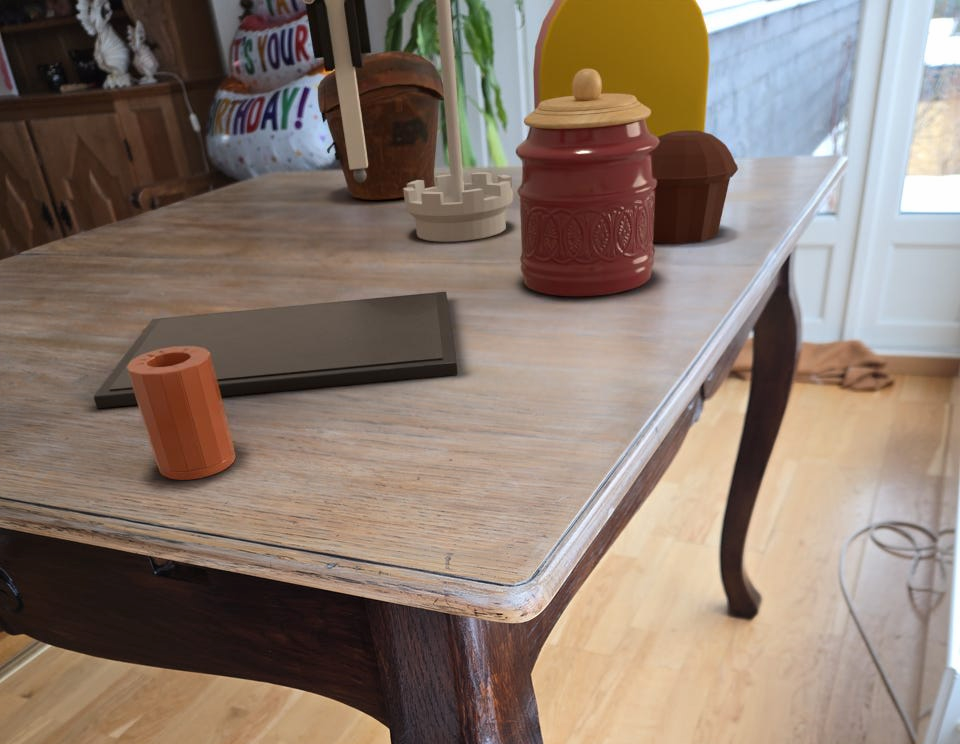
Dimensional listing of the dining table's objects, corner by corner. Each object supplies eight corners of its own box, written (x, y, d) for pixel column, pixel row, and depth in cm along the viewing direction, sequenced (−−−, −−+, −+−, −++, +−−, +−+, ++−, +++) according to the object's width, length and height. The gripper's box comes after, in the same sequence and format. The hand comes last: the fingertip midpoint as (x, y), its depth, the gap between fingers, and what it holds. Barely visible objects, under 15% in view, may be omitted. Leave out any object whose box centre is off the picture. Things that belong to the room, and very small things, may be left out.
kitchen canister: (619, 304, 81) (624, 75, 70) (496, 292, 87) (484, 79, 76) (674, 267, 89) (685, 58, 79) (559, 258, 95) (556, 63, 85)
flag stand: (510, 240, 103) (494, -93, 86) (400, 246, 105) (362, -80, 87) (517, 216, 114) (504, -86, 96) (417, 221, 115) (386, -74, 98)
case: (381, 178, 144) (365, 45, 134) (479, 184, 134) (470, 40, 123) (301, 201, 133) (276, 58, 123) (401, 209, 123) (384, 54, 112)
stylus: (351, 184, 68) (320, -26, 61) (352, 181, 70) (322, -25, 62) (369, 182, 69) (340, -28, 61) (370, 180, 70) (342, -27, 62)
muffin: (606, 237, 101) (607, 137, 95) (671, 218, 107) (676, 123, 101) (688, 252, 94) (695, 144, 88) (753, 231, 99) (764, 128, 93)
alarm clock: (685, 180, 125) (699, -58, 109) (702, 192, 117) (719, -61, 102) (536, 193, 125) (529, -43, 109) (543, 206, 117) (536, -45, 102)
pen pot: (151, 483, 57) (117, 377, 53) (168, 450, 61) (137, 349, 57) (229, 476, 57) (201, 369, 53) (240, 443, 61) (215, 342, 57)
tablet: (97, 409, 69) (92, 395, 68) (154, 329, 85) (151, 317, 84) (457, 374, 69) (456, 360, 68) (447, 301, 85) (446, 290, 85)
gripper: (151, -294, 51) (230, 83, 62) (422, -320, 51) (453, 61, 62) (178, -264, 57) (246, 75, 68) (420, -288, 57) (449, 54, 68)
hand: (344, 66), depth 65 cm, fingers closed on stylus, 1 cm apart
